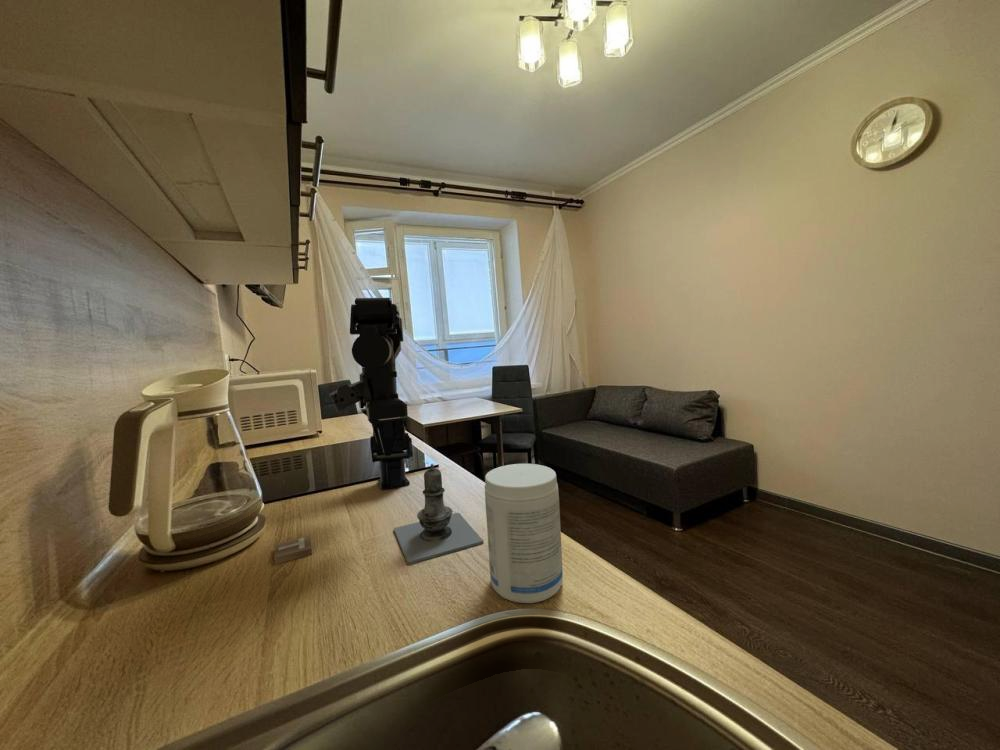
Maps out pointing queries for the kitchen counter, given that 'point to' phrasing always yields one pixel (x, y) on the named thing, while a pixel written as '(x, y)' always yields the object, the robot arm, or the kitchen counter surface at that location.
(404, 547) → the slate mat
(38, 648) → the kitchen counter surface
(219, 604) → the kitchen counter surface
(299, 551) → the letter tile
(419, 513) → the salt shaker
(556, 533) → the supplement tub
